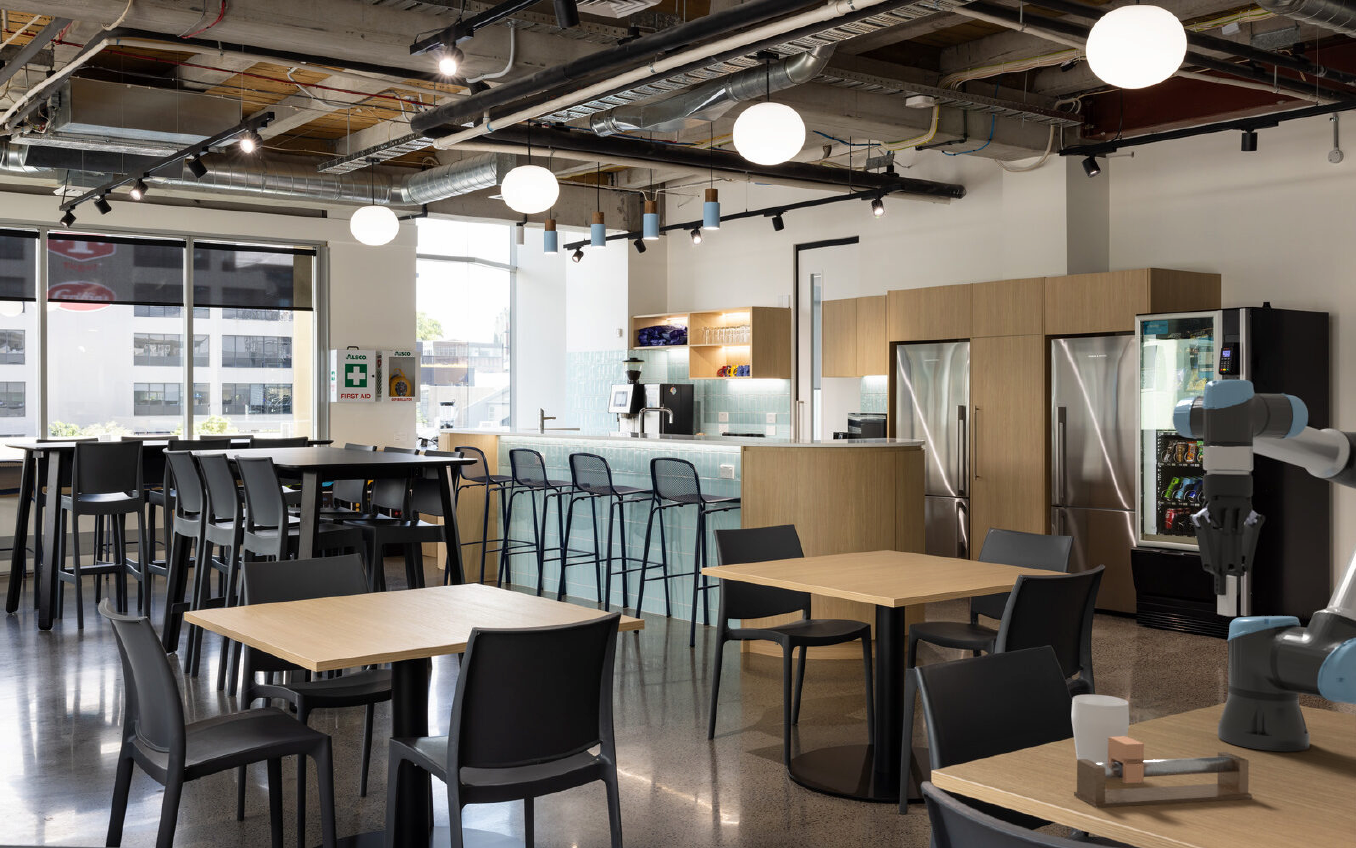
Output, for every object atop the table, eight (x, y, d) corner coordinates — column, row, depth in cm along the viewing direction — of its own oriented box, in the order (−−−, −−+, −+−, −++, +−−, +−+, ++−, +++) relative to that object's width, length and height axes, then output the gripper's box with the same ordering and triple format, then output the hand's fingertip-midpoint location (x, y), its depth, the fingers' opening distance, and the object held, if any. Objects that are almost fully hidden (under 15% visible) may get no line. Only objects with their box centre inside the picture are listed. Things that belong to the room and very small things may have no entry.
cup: (1133, 783, 185) (1134, 708, 185) (1074, 778, 187) (1075, 704, 187) (1123, 767, 194) (1124, 696, 194) (1067, 763, 196) (1068, 693, 196)
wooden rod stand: (1225, 787, 183) (1225, 751, 184) (1251, 798, 178) (1251, 761, 178) (1073, 795, 178) (1074, 758, 178) (1096, 808, 172) (1096, 769, 172)
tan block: (1125, 773, 179) (1125, 736, 179) (1143, 782, 174) (1143, 743, 174) (1107, 774, 178) (1108, 737, 178) (1125, 783, 174) (1126, 744, 174)
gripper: (1245, 472, 196) (1245, 611, 196) (1178, 471, 194) (1177, 612, 193) (1277, 473, 189) (1277, 617, 189) (1208, 473, 186) (1207, 619, 186)
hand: (1226, 614), depth 191 cm, fingers closed
